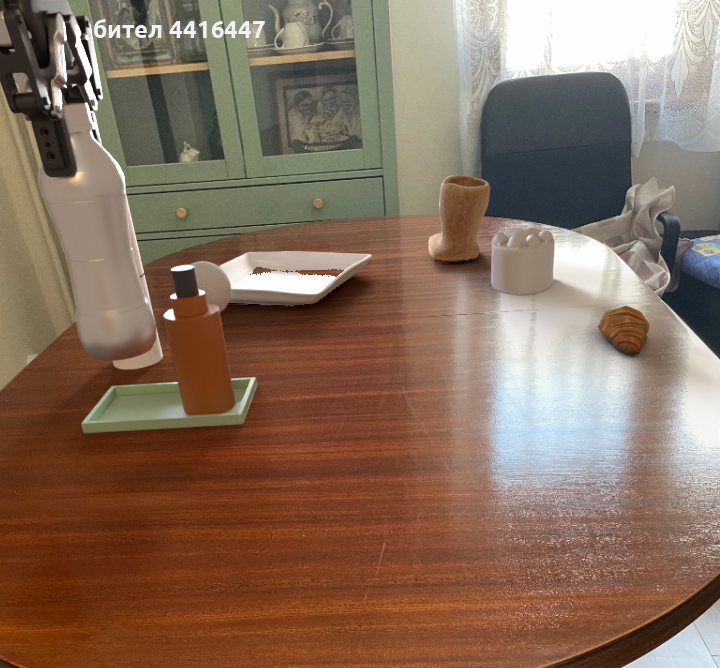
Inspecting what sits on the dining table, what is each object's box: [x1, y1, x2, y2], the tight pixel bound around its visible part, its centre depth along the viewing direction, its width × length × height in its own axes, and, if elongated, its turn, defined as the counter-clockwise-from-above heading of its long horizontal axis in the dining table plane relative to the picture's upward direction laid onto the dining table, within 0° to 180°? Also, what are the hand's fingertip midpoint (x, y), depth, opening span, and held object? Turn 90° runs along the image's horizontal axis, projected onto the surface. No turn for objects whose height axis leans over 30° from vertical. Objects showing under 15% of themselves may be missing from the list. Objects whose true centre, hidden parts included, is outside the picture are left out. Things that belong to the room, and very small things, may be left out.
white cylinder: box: [189, 260, 231, 313], centre depth 98 cm, size 7×7×15 cm
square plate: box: [218, 250, 373, 307], centre depth 134 cm, size 27×27×4 cm
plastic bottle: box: [37, 103, 157, 362], centre depth 60 cm, size 6×7×20 cm
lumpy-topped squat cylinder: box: [490, 227, 556, 296], centre depth 124 cm, size 10×13×9 cm
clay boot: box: [427, 174, 491, 262], centre depth 142 cm, size 15×12×15 cm
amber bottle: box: [162, 264, 236, 415], centre depth 86 cm, size 6×6×17 cm
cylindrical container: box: [111, 194, 164, 370], centre depth 100 cm, size 7×7×25 cm
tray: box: [80, 376, 258, 434], centre depth 90 cm, size 19×11×2 cm, turn 88°
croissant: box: [597, 305, 650, 356], centre depth 98 cm, size 14×7×5 cm, turn 174°
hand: (77, 168), depth 57 cm, fingers closed on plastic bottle, 5 cm apart
